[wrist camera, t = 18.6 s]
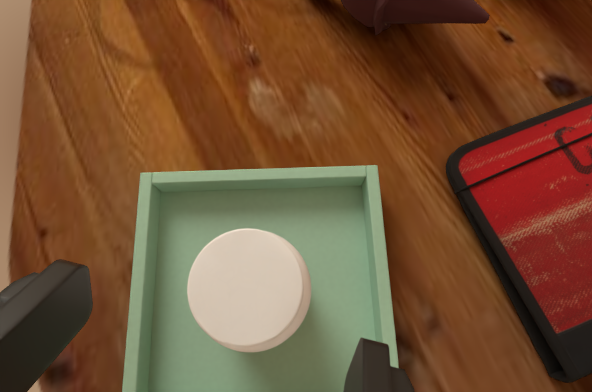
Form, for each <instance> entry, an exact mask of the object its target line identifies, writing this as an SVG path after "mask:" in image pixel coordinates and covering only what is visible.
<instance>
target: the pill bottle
mask: <svg viewBox="0 0 592 392" xmlns="http://www.w3.org/2000/svg"><path fill="white" fill-rule="evenodd" d="M187 295H188V302H189V306H190V310H191V312H192V314H193V316H194V318H195V320H196V322H197V323H198V325H199V326H200V327H201V328H202V329H203V331H204V332H206V333H207V334H208V335H209V336H210V337H211V338H212V339H213V340H215V341H216V342H217V343H219V344H220V345H222V346H224V347H226V348H229V349H232V350H235V351H239V352H260V351H265V350H268V349H271V348H273V347H276V346H278V345H279V344H281V343H283V342H284V341H286V340H287V339H288V338H289V337H290V336H292V335H293V334H294V333H295V331H296V330H297V329H298V328H299V326H300V325H301V323H302V322H303V320H304V318H305V316H306V314H307V311H308V308H309V304H310V300H311V279H310V274H309V271H308V268H307V265H306V263H305V261H304V259H303V258H302V256H301V255H300V253H299V252H298V251H297V249H296V248H295V247H294V246H293V245H292V244H290V243H289V242H288V241H287V240H285V239H284V238H282V237H280V236H278V235H276V234H274V233H271V232H267V231H262V230H258V229H250V228H245V229H236V230H232V231H229V232H226V233H224V234H222V235H220V236H218V237H216V238H215V239H213V240H212V241H211V242H210V243H208V244H207V245H206V246H205V247H204V248H203V249H202V251H201V252H200V253H199V254H198V256H197V258H196V259H195V261H194V263H193V265H192V267H191V270H190V273H189V278H188V285H187Z"/></svg>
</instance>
